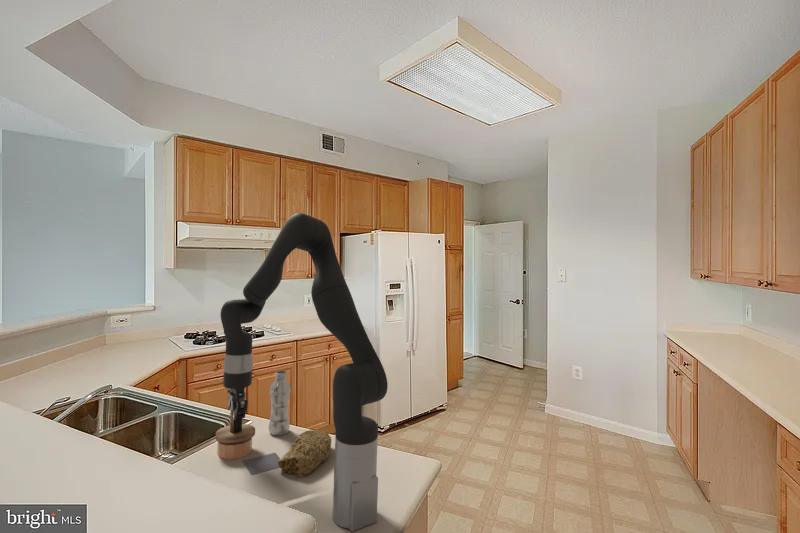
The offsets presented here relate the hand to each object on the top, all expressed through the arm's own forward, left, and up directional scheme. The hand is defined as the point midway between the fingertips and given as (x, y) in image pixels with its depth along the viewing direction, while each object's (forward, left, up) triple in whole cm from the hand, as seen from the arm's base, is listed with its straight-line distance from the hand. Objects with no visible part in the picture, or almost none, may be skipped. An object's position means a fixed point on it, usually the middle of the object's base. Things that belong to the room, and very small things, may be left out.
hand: (235, 429), depth 112 cm
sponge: (-14, -16, -8) cm, 23 cm away
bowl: (0, 0, -7) cm, 7 cm away
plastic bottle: (+7, -15, -7) cm, 18 cm away
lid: (0, 0, -2) cm, 2 cm away
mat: (-11, -5, -7) cm, 14 cm away
